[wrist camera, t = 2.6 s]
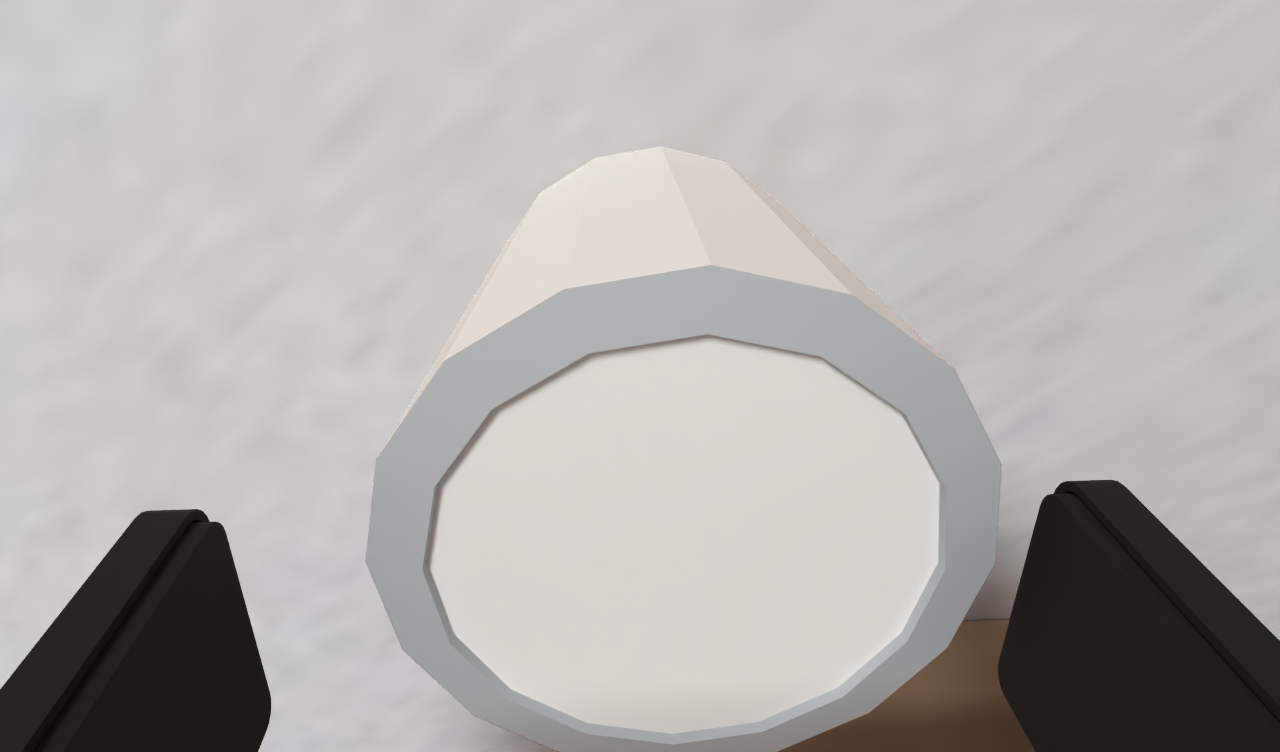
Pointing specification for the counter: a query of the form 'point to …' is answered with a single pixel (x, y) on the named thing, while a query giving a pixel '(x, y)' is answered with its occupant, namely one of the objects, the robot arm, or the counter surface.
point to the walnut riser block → (939, 705)
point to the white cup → (679, 478)
